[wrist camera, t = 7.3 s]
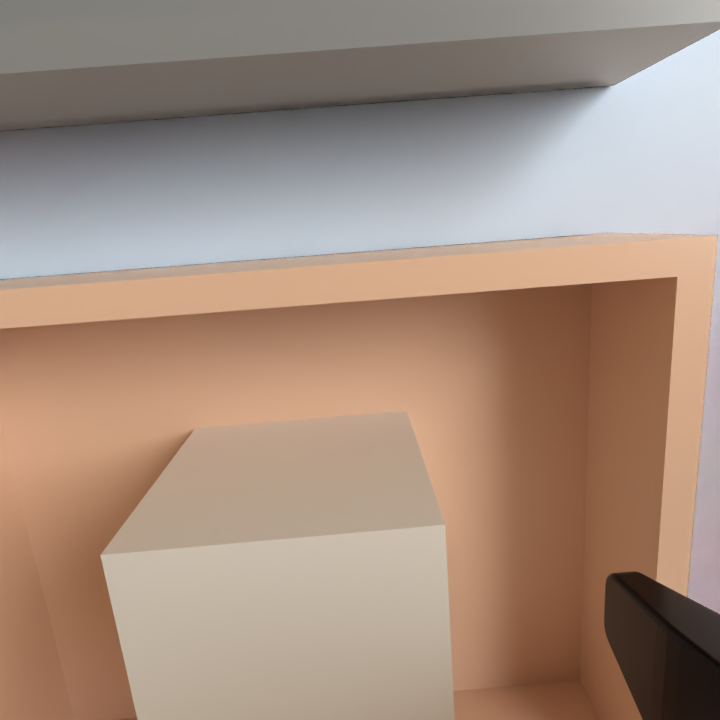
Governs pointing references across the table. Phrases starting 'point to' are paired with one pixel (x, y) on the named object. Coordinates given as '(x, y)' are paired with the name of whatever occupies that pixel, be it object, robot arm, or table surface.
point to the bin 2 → (366, 396)
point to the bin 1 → (316, 52)
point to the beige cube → (287, 577)
